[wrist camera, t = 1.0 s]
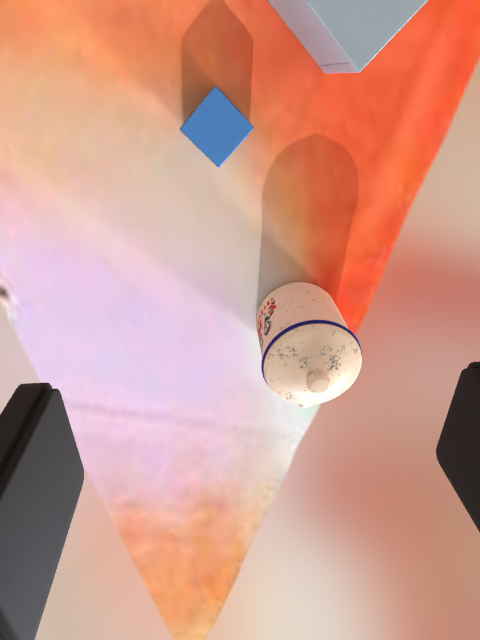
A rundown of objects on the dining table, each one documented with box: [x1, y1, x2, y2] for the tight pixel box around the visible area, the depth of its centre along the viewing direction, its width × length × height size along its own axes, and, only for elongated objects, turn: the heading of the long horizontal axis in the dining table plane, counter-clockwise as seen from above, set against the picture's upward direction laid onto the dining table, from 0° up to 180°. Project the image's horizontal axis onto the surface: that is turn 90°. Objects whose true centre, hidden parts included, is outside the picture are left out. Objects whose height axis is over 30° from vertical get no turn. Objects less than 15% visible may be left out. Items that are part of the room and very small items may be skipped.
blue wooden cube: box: [180, 86, 254, 167], centre depth 33 cm, size 4×4×4 cm
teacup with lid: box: [256, 282, 362, 408], centre depth 40 cm, size 12×9×12 cm
